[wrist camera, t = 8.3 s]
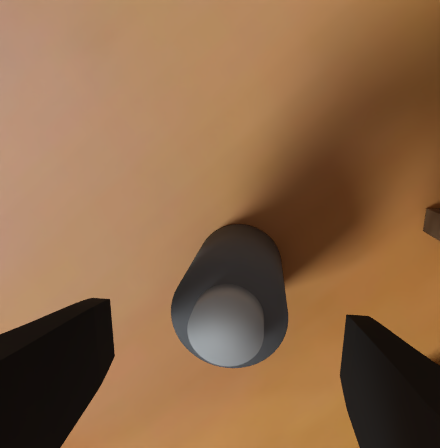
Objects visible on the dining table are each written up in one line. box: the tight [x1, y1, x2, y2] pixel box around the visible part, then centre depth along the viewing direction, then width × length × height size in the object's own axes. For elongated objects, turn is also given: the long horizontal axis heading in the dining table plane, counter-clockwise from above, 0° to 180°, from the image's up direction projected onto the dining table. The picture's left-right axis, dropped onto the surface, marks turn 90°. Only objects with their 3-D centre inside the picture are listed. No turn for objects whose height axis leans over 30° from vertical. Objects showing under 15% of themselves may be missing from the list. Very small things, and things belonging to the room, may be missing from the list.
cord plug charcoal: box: [171, 224, 288, 368], centre depth 14 cm, size 4×4×6 cm
